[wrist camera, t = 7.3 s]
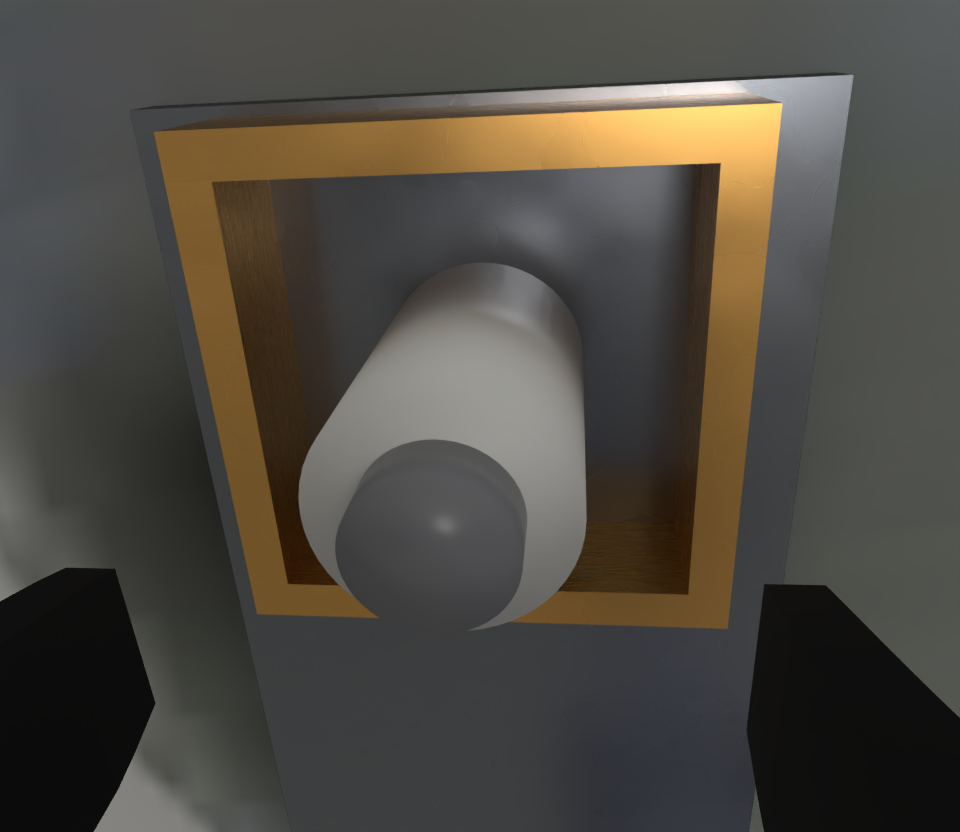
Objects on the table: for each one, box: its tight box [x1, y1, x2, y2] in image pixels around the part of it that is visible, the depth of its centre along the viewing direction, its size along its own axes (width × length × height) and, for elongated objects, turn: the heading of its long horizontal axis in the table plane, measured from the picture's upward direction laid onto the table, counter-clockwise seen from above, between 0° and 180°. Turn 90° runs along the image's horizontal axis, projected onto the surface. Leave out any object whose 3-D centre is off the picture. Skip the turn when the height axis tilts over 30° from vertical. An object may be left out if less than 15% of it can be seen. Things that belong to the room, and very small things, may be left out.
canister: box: [298, 263, 587, 634], centre depth 13 cm, size 4×4×7 cm
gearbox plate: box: [130, 73, 853, 832], centre depth 18 cm, size 20×13×4 cm, turn 3°
